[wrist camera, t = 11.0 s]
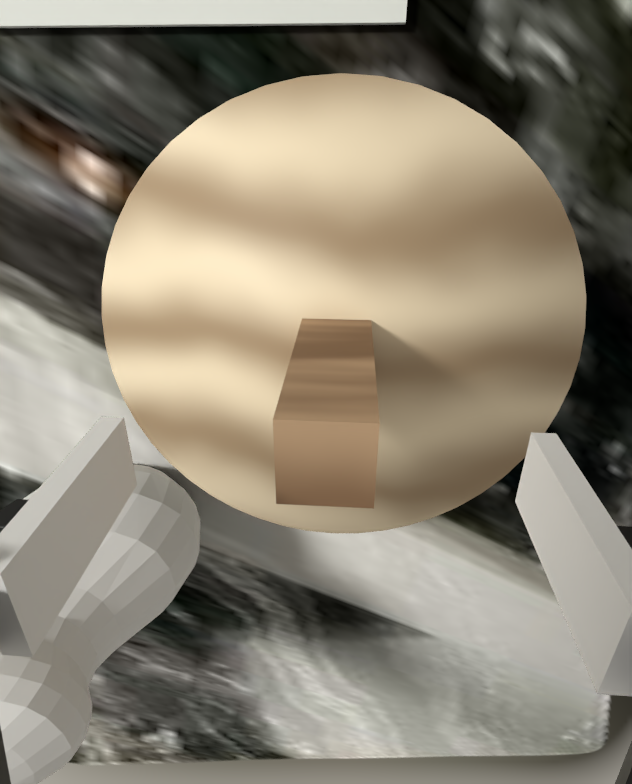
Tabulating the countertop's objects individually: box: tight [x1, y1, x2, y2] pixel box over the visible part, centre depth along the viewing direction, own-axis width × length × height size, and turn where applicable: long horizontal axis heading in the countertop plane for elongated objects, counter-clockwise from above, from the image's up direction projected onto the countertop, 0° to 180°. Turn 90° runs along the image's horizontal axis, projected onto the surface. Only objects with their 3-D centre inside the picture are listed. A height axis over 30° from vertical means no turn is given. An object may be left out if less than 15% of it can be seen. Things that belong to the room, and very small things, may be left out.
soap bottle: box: [0, 464, 201, 784], centre depth 30 cm, size 17×12×29 cm
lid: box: [102, 73, 586, 533], centre depth 22 cm, size 24×24×11 cm
